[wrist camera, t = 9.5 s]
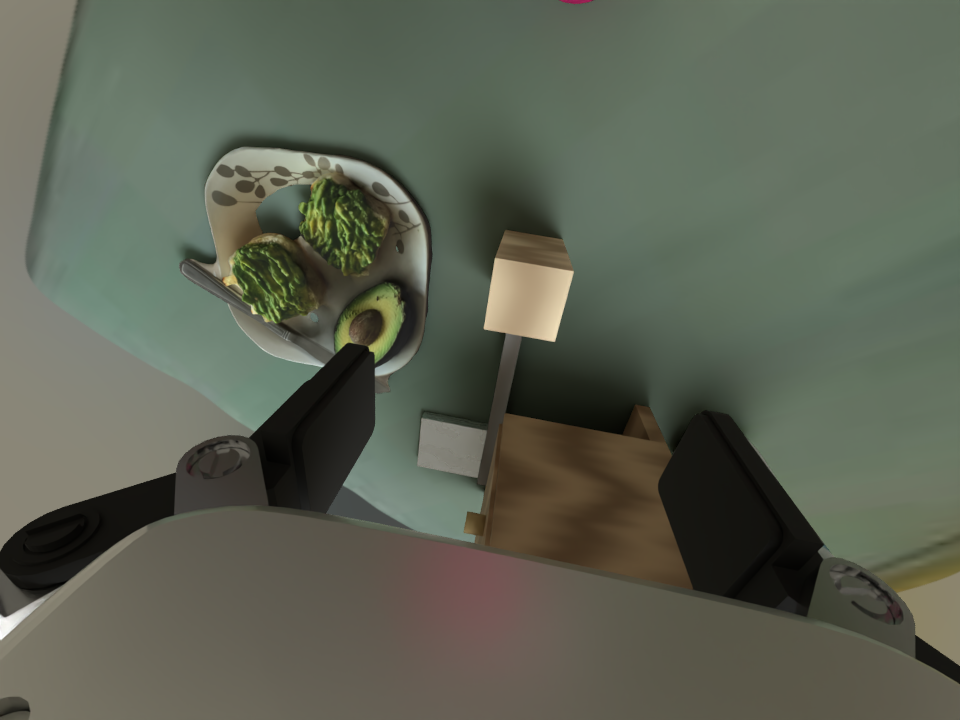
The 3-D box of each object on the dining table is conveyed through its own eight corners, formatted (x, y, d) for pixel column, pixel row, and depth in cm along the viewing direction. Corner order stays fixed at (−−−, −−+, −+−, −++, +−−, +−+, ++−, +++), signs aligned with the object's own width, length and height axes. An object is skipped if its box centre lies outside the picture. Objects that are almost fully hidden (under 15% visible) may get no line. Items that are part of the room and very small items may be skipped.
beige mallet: (562, 239, 26) (573, 271, 19) (504, 476, 37) (498, 551, 30) (505, 229, 26) (495, 257, 19) (465, 469, 37) (449, 541, 30)
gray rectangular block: (488, 420, 35) (487, 430, 33) (479, 466, 37) (477, 477, 36) (425, 408, 35) (421, 417, 33) (421, 455, 38) (417, 465, 36)
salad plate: (217, 348, 34) (175, 374, 30) (165, 121, 25) (96, 115, 21) (422, 390, 34) (407, 422, 30) (443, 172, 25) (426, 175, 21)
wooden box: (649, 407, 31) (749, 623, 17) (599, 516, 38) (640, 735, 24) (491, 377, 32) (458, 563, 17) (471, 490, 39) (434, 689, 24)
